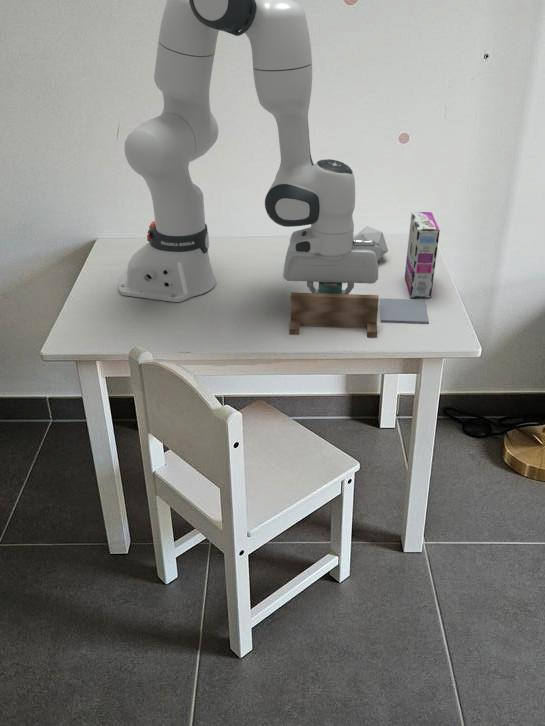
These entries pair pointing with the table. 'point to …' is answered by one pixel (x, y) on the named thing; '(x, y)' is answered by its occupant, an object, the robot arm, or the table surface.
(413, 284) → the candy bar box
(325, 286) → the teal block
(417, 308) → the grey mat
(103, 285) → the table surface
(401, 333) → the table surface
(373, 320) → the walnut board
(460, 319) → the table surface
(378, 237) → the die
